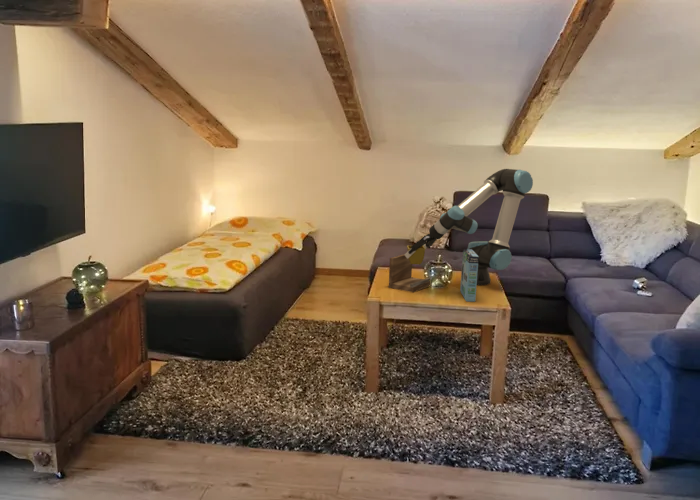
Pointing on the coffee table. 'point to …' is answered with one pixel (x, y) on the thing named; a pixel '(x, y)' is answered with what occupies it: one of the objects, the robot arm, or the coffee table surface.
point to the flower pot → (417, 255)
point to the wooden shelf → (404, 275)
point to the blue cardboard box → (469, 275)
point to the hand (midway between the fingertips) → (412, 255)
